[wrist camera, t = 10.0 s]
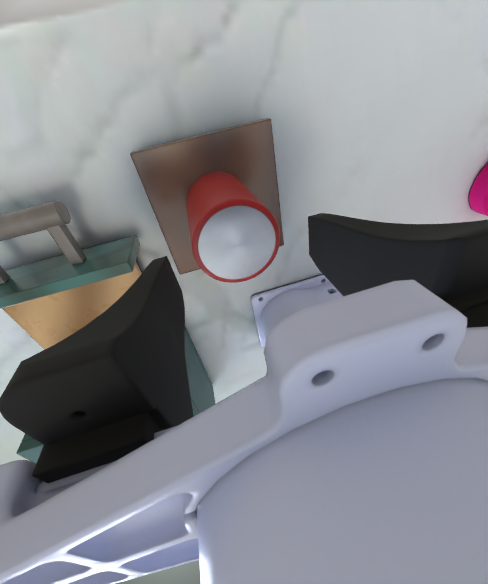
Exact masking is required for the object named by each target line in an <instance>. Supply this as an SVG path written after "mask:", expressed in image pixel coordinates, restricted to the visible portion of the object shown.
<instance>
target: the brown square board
mask: <svg viewBox="0 0 488 584" xmlns="http://www.w3.org/2000/svg"><path fill="white" fill-rule="evenodd" d="M130 155H131V157H132V160H133V162H134V165H135V167H136V169H137V172H138V174H139V177H140V179H141V182H142V184H143V186H144V189H145V191H146V194H147V196H148V199H149V201H150V203H151V206H152V208H153V211H154V213H155V215H156V218H157V220H158V223H159V225H160V228H161V230H162V232H163V235H164V237H165V240H166V242H167V245H168V247H169V249H170V252H171V254H172V257H173V259H174V262H175V264H176V266H177V269H178V271H179V274H184V273H187V272H191V271H194V270H198V269H201V268H200V267H199V266H198V264H197V262H196V260H195V258H194V255H193V252H192V245H191V238H190V231H189V224H188V216H187V209H186V200H187V195H188V192H189V190H190V188H191V186H192V185H193V184H194V182H195V181H196V180H197V179H199V178H200V177H201V176H203V175H205V174H208V173H211V172H226V173H229V174H231V175H233V176H235V177H237V178H238V179H239V180H240V181H241V182H242V183H243V184H244V185H245V186H246V187H247V188H248V189H249V190H250V191H251V192H252V193H253V194H254V195H255V196H256V197H257V198H258V199H259V200H260V201H261V202H262V203H263V204H264V205H265V206H266V207H267V208H268V210H269V211H270V212H271V213H272V214H273V216H274V217H275V219H276V221H277V223H278V226H279V231H280V243H279V246H282V245H284V242H283V232H282V223H281V213H280V203H279V193H278V183H277V174H276V164H275V154H274V144H273V134H272V125H271V119H269V118H266V119H262V120H258V121H254V122H250V123H246V124H242V125H238V126H234V127H229V128H225V129H221V130H217V131H213V132H209V133H205V134H201V135H197V136H193V137H189V138H185V139H181V140H177V141H173V142H169V143H164V144H160V145H156V146H152V147H148V148H144V149H140V150H136V151H132V152H131V153H130Z"/></svg>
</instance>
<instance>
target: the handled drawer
mask: <svg viewBox="0 0 488 584" xmlns="http://www.w3.org/2000/svg"><path fill="white" fill-rule="evenodd" d="M68 223H70V215H69V212H68V210H67V208H66V207H65V206H64V205H63V204H62V203H61V202H60V201H53V202H49V203H45V204H41V205H37V206H33V207H29V208H25V209H21V210H17V211H13V212H10V213H6V214H2V215H0V241H3V240H7V239H11V238H15V237H19V236H22V235H26V234H30V233H34V232H38V231H42V230H45V229H47V230H48V232H49V233H50V234H51V236H52V237H53V239H54V240H55V242H56V243H57V244H58V246H59V247H60V249H61V250H62V252H63V253H64V254H65V255H61V256H57V257H54V258H50V259H46V260H43V261H39V262H35V263H31V264H28V265H24V266H20V267H17V268H13V269H9V270H4V269H3V268H2V267H1V266H0V309H1V308H2V309H3V310H4V311H5V312H6V313H7V314H8V315H9V316H10V317H11V318H13V319H14V320H15V321H16V322H17V323H18V324H19V325H20V326H21V327H22V328H23V329H24V330H25V331H26V332H27V333H28V334H29V335H30V336H31V337H32V338H33V339H34V340H35V341H36V342H37V343H38V344H39V345H40V346H41V347H42V348H43V349H44V350H45V349H47V348H49V347H51V346H53V345H55V344H56V343H58V342H60V341H62V340H63V339H65V338H67V337H68V336H70V335H72V334H73V333H75V332H76V331H78V330H80V329H81V328H83V327H84V326H86V325H87V324H88V323H90V322H91V321H92V320H94V319H95V318H96V317H98V316H99V315H101V314H102V313H103V312H104V311H106V310H107V309H108V308H109V307H110V306H112V305H113V304H114V303H115V302H116V301H117V300H118V299H119V298H120V297H121V296H122V295H123V294H124V293H125V292H126V291H127V290H128V289H129V288H130V287H131V286H132V284H133V283H134V282H135V281H136V280H137V279H138V277H139V276H140V275H141V274H142V273H141V271H140V269H139V267H138V265H137V263H136V258H137V254H138V250H139V246H140V243H139V241H138V239H137V237H136V236H132V237H128V238H124V239H120V240H117V241H113V242H109V243H106V244H102V245H98V246H94V247H91V248H87V249H83V250H81V248H80V246H79V245H78V243H77V242H76V240H75V239H74V237H73V236H72V234H71V233H70V231H69V230H68V228H67V226H66V225H65V224H68Z"/></svg>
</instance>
